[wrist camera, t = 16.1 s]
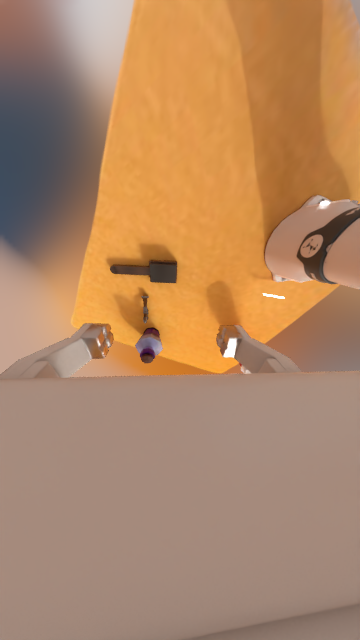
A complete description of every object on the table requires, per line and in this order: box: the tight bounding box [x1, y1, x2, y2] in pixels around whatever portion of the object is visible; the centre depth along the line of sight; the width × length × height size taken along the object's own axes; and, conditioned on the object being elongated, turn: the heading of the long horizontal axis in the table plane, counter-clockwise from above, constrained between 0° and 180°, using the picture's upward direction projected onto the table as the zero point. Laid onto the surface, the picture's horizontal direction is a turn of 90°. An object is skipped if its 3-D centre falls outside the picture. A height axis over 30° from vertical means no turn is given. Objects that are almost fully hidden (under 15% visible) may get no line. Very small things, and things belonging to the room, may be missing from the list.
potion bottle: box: [135, 328, 163, 363], centre depth 42 cm, size 9×9×12 cm
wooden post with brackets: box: [141, 296, 149, 323], centre depth 40 cm, size 2×8×4 cm, turn 177°
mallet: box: [110, 260, 177, 283], centre depth 33 cm, size 17×5×3 cm, turn 87°
